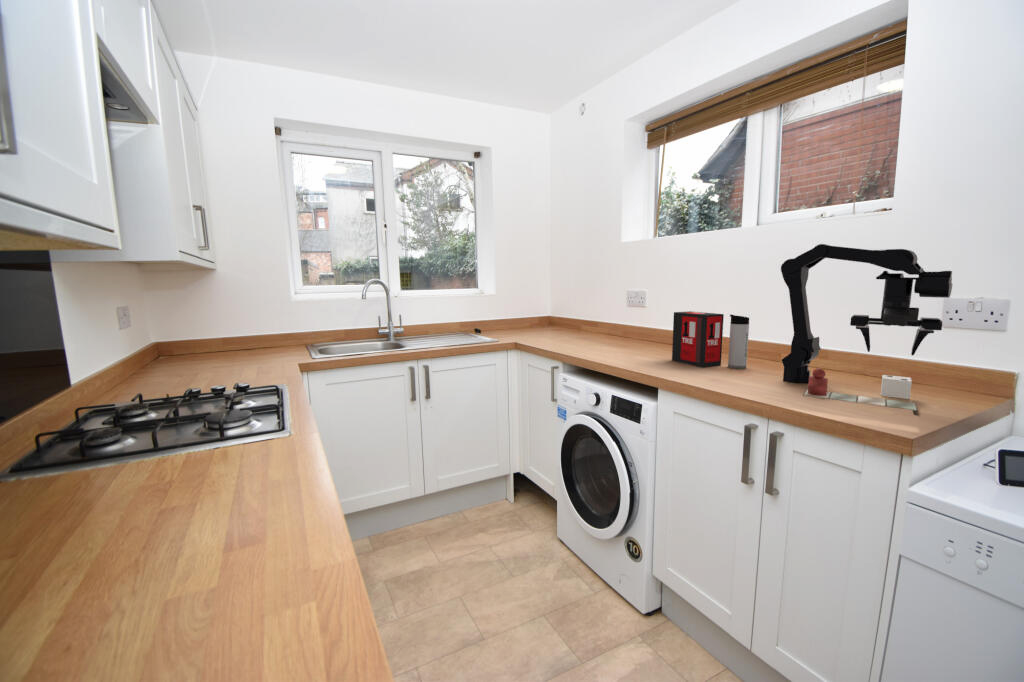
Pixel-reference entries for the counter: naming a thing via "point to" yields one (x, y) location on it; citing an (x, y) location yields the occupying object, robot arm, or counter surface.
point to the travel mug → (738, 342)
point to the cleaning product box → (697, 338)
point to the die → (896, 386)
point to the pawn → (818, 383)
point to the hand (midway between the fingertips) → (890, 353)
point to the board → (868, 400)
